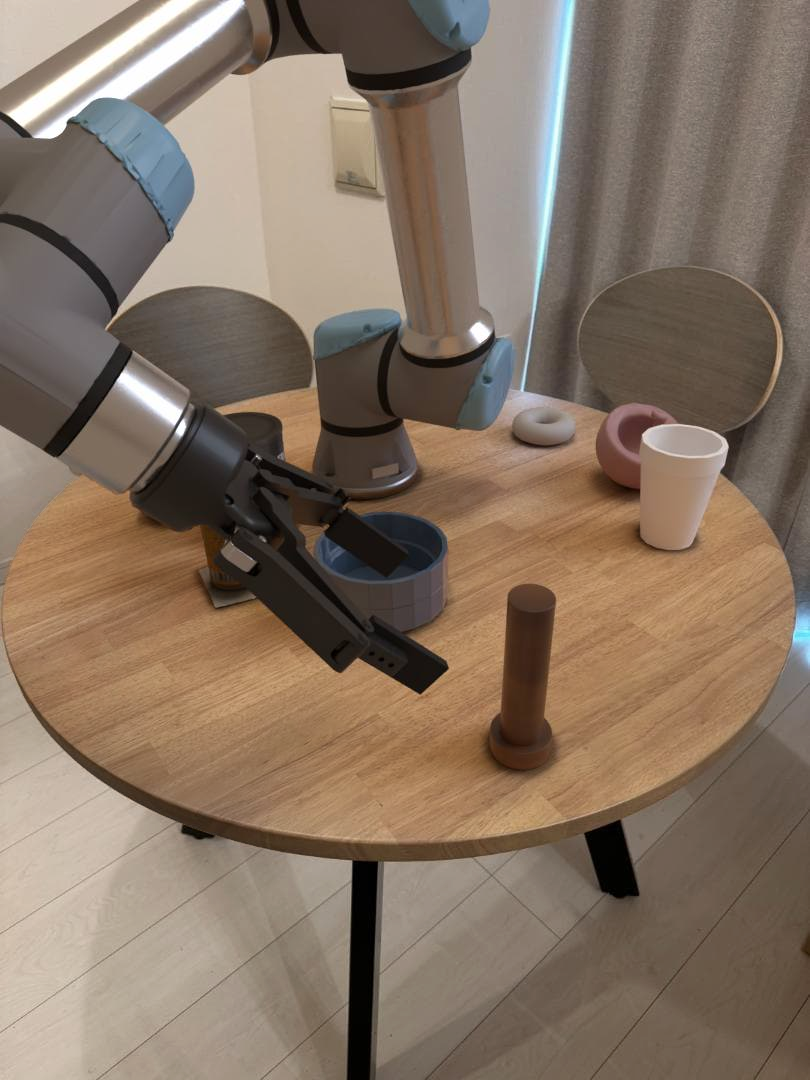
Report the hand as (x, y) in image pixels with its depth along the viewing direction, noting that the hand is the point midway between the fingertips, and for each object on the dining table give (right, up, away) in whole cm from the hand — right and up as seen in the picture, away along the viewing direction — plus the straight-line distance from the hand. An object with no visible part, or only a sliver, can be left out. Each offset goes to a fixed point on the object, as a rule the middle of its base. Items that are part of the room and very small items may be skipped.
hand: (413, 615), depth 54 cm
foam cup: (+32, +6, +38) cm, 50 cm away
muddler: (+9, -12, +10) cm, 18 cm away
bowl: (-3, -1, +29) cm, 29 cm away
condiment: (-20, 0, +32) cm, 38 cm away
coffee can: (-20, +7, +42) cm, 47 cm away
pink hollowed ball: (+32, +13, +50) cm, 60 cm away
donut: (+21, +22, +64) cm, 71 cm away
